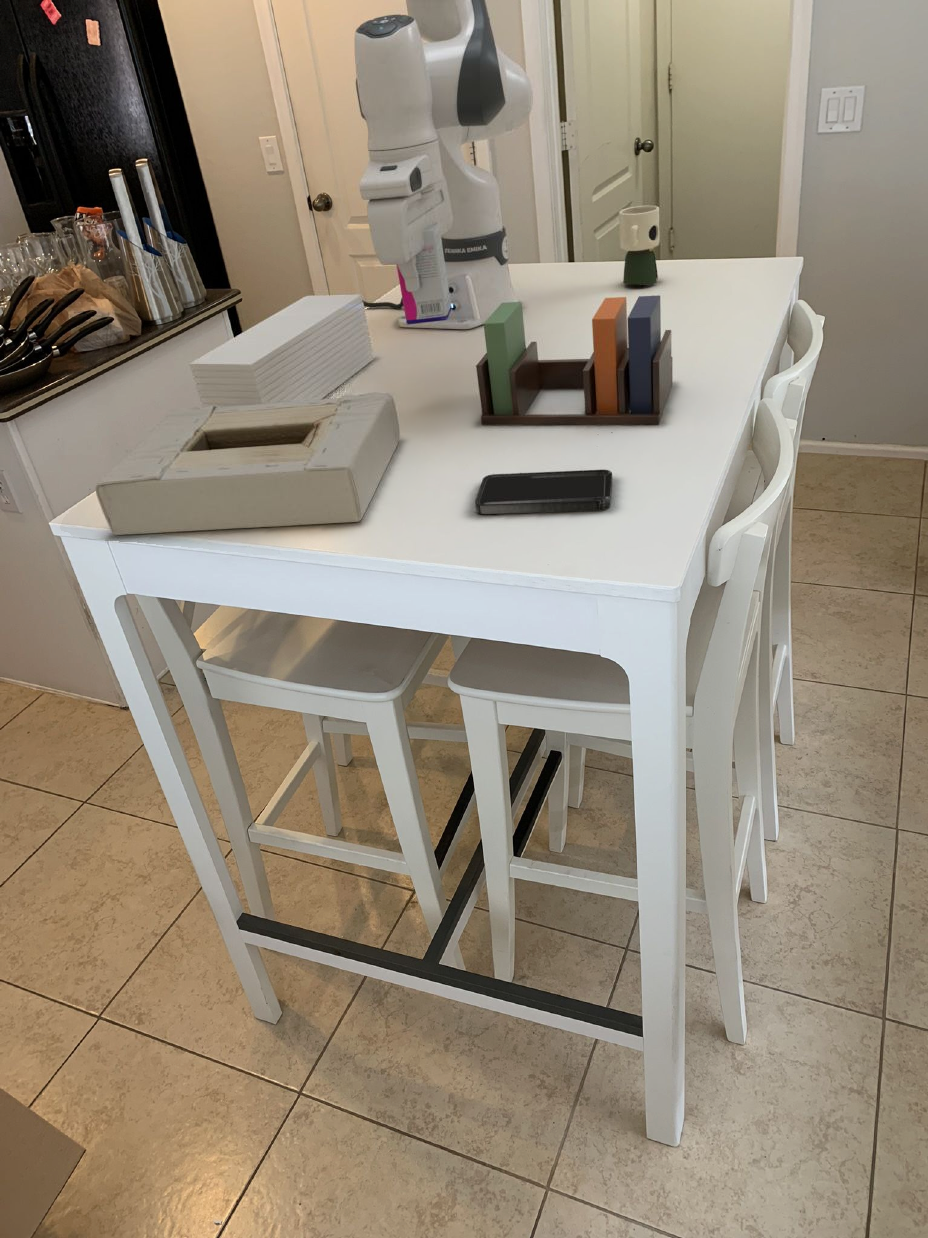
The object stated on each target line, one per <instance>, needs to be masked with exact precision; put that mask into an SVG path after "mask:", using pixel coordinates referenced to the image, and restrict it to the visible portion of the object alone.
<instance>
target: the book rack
mask: <svg viewBox="0 0 928 1238" xmlns="http://www.w3.org/2000/svg"><path fill="white" fill-rule="evenodd" d="M475 367H476V376H477V377H476V378H477V386H478V392H479V393H478V394H479V399H480V407H481V408H480V409H481V416H480V422H481V423H480V424H481V425H482V426H561V425H562V426H568V425H569V426H574V425H575V426H580V425H581V426H586V425H587V426H590V425H591V426H609V425H610V426H611V425H612V426H614V425H615V426H626V425H627V426H633V425H634V426H635V425H636V426H639V425H640V426H649V425H650V426H651V425H652V426H653V425H655V426H657V425H660V423H661V420H662V417H663V414H664V411H665V408H666V405H667V402H668V399H669V396H670V393H671V391H672V387H673V383H674V382H673V381H674V380H673V356H672V329H665V331H664V333H663V336H662V337H661V343H660V345H659V348H658V350H657V353H656V355H655V357H654V360H653V412H654V413H653V414H630V384H629V351H628V349H627V351H626V353H625V356H624V358H623V360H622V362H621V364H620V366H619V368H618V370H617V372H618V399H619V414H597V405H596V386H595V367H594V351H593V352H592V354H591V355H590V357H589V358H569V359H568V358H564V359H539V353H538V342H537V341H531V342H529V344H528V345H527V346H526V350H525V351H524V352H523V354H522V355H521V357H520V358H519V359H518V361H517V362H516V363H515V365H514V366H513V367H512V369H511V370H510V372H509V378H510V388H511V397H512V406H513V415H494V409H493V400H492V392H491V383H490V375H489V367H488V358H487V352H486V353H485V354H484V355H483V357H481V359H480V360H479V361H478V363H477V364H476V365H475ZM559 389H560V390H571V389H572V390H574V389H575V390H576V389H580V390H581V389H583V394H584V396H583V399H584V413H573V414H572V413H570V414H569V413H568V414H567V413H561V414H558V413H555V414H552V413H551V414H549V413H547V414H541V413H540V414H534V413H533V414H527V412H528V410H529V409H530V407H531V405H532V404H533V402H534V401H535V399H536V397H537V396H538V395H539V393H540V391H541V390H559Z"/></svg>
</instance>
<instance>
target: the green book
mask: <svg viewBox="0 0 928 1238" xmlns="http://www.w3.org/2000/svg"><path fill="white" fill-rule="evenodd" d="M482 325H483V331H484V332H483V333H484V342H485V349H486V350H485V351H486V353H487V358H488V367H489V375H490V383H491V392H492V400H493V409H494V415H513V406H512V397H511V388H510V378H509V372H510V370H511V369H512V367H513V366H514V365H515V363H516V362H517V361H518V359H519V358H520V357H521V355H522V354H523V352H524V351H525V350H526V348H527V345H526V343H527V342H526V333H525V323H524V311H523V303H522V301H518V302H507V303H501V305H500V306H499V307H498V308H497V309H496V310H495V311H494V312H493V314H492V315H491V316H490V317H489V318H488V319H487V320H486V321H485V322H484V324H482Z"/></svg>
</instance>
